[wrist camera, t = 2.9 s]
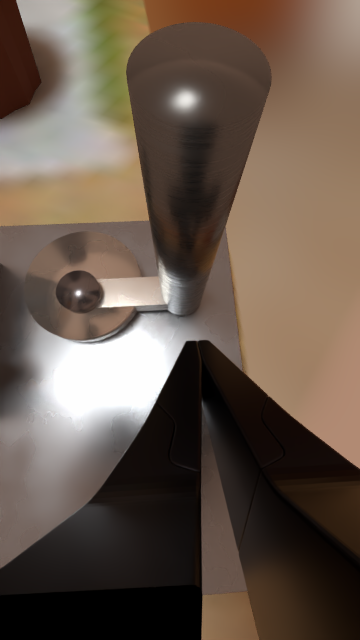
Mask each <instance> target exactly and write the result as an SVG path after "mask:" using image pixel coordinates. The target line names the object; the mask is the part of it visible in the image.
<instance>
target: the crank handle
mask: <svg viewBox="0 0 360 640" xmlns="http://www.w3.org/2000/svg"><path fill="white" fill-rule="evenodd" d="M126 75H127V83H128V89H129V95H130V102H131V108H132V114H133V120H134V127H135V133H136V139H137V145H138V152H139V158H140V164H141V170H142V177H143V183H144V189H145V196H146V202H147V208H148V214H149V221H150V227H151V233H152V239H153V246H154V252H155V258H156V264H157V271H158V276H157V277H142V276H141V272H140V269H139V266H138V264H137V261H136V259H135V257H134V255H133V254H132V252H131V251H130V250H129V249H128V248H127V247H126V246H125V245H124V244H123V243H122V242H120V241H119V240H117V239H116V238H114V237H112V236H109V235H107V234H103V233H99V232H92V231H84V232H76V233H71V234H68V235H65V236H62V237H60V238H58V239H56V240H54V241H53V242H51V243H50V244H48V245H47V246H46V247H44V248H43V249H42V250H41V251H40V252H39V253H38V255H37V256H36V257H35V258H34V260H33V261H32V263H31V265H30V267H29V269H28V271H27V274H26V277H25V283H24V297H25V302H26V305H27V308H28V310H29V312H30V314H31V316H32V317H33V319H34V320H35V321H36V322H37V323H38V324H39V325H40V326H41V327H42V328H44V329H45V330H47V331H48V332H50V333H52V334H54V335H57V336H59V337H62V338H64V339H67V340H71V341H75V342H94V341H99V340H103V339H105V338H108V337H110V336H112V335H114V334H116V333H117V332H119V331H120V330H122V329H123V328H124V327H125V326H126V325H127V324H128V323H129V322H130V321H131V320H132V319H133V317H134V316H135V314H136V313H137V311H155V310H168V311H170V312H171V313H173V314H175V315H182V316H183V315H188V314H191V313H193V312H194V311H195V310H196V309H197V308H198V307H199V305H200V303H201V300H202V297H203V294H204V291H205V287H206V284H207V281H208V278H209V275H210V272H211V269H212V266H213V263H214V260H215V257H216V254H217V250H218V247H219V244H220V241H221V238H222V235H223V232H224V229H225V226H226V223H227V220H228V217H229V213H230V210H231V207H232V204H233V201H234V198H235V195H236V192H237V189H238V186H239V182H240V179H241V176H242V173H243V170H244V167H245V164H246V161H247V158H248V155H249V152H250V149H251V145H252V142H253V139H254V136H255V133H256V130H257V127H258V124H259V121H260V118H261V115H262V112H263V108H264V105H265V102H266V99H267V96H268V93H269V90H270V86H271V69H270V66H269V63H268V61H267V59H266V57H265V55H264V54H263V52H262V51H261V50H260V48H259V47H258V46H257V45H256V44H255V43H253V42H252V41H251V40H250V39H248V38H247V37H245V36H244V35H242V34H240V33H239V32H237V31H234V30H232V29H229V28H226V27H224V26H220V25H216V24H211V23H201V22H199V23H198V22H190V23H181V24H175V25H171V26H167V27H164V28H162V29H159V30H157V31H155V32H153V33H151V34H150V35H148V36H147V37H145V38H144V39H143V40H142V41H141V42H140V43H139V44H138V45H137V46H136V47H135V48H134V50H133V51H132V53H131V55H130V57H129V60H128V63H127V70H126Z"/></svg>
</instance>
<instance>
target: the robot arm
mask: <svg viewBox="0 0 360 640" xmlns="http://www.w3.org/2000/svg"><path fill="white" fill-rule="evenodd" d="M202 405H203V410H204V414H205V418H206V422H207V426H208V430H209V434H210V438H211V443H212V447H213V451H214V455H215V459H216V463H217V467H218V471H219V475H220V480H221V484H222V488H223V492H224V496H225V500H226V504H227V508H228V513H229V517H230V521H231V525H232V529H233V533H234V537H235V541H236V545H237V550H238V551H239V558H240V562H241V566H242V570H243V574H244V579H245V583H246V587H247V591H248V595H249V599H250V603H251V607H252V611H253V616H254V620H255V624H256V628H257V632H258V636H259V640H360V469H359V468H358V467H356V466H355V465H353V464H352V463H351V462H349V461H348V460H347V459H345V458H344V457H343V456H342V455H340V454H339V453H338V452H337V451H335V450H334V449H333V448H331V447H330V446H329V445H327V444H326V443H325V442H324V441H322V440H321V439H320V438H318V437H317V436H316V435H314V434H313V433H312V432H310V431H309V430H308V429H307V428H305V427H304V426H303V425H302V424H300V423H299V422H298V421H297V420H295V419H294V418H293V417H292V416H290V414H288V413H287V412H286V411H285V410H284V409H283V408H281V407H280V406H279V405H278V404H277V403H276V402H275V401H274V400H273V399H272V398H270V397H268V395H267V394H266V393H265V392H264V391H263V390H262V389H261V388H260V387H259V386H258V385H257V384H255V383H254V382H253V381H252V380H251V379H250V378H249V377H248V376H247V375H246V374H245V373H244V372H243V371H242V370H240V369H239V368H238V367H237V366H236V365H235V364H234V363H233V362H232V361H231V360H230V359H229V358H228V357H226V356H225V355H224V354H223V353H222V352H221V351H220V350H219V349H218V348H217V347H216V346H215V345H214V344H213V343H211V342H210V341H209V340H198V342H197V341H195V340H194V341H186V342H185V344H184V346H183V348H182V350H181V352H180V354H179V356H178V358H177V360H176V362H175V364H174V366H173V368H172V370H171V372H170V374H169V376H168V378H167V379H166V381H165V383H164V385H163V387H162V389H161V391H160V393H159V395H158V397H157V399H156V401H155V403H154V405H153V407H152V409H151V411H150V413H149V415H148V417H147V418H146V420H145V422H144V424H143V426H142V427H141V429H140V430H139V432H138V434H137V435H136V437H135V438H134V440H133V441H132V443H131V444H130V446H129V447H128V449H127V450H126V451H125V453H124V454H123V456H122V457H121V459H120V460H119V462H118V463H117V465H116V466H115V467H114V469H113V470H112V472H111V473H110V475H109V476H108V478H107V479H106V481H105V482H104V483H103V485H102V486H101V487H100V489H99V490H98V491H97V492H96V494H95V495H94V496H93V497H92V498H91V499H90V500H89V501H88V502H87V503H86V504H85V505H84V506H82V507H81V508H80V509H79V510H77V511H76V512H75V513H73V514H72V515H71V516H69V517H68V518H67V519H65V520H64V521H63V522H61V523H60V524H59V525H57V526H56V527H55V528H54V529H52V530H51V531H50V532H48V533H47V534H46V535H44V536H43V537H42V538H40V539H39V540H38V541H36V542H35V543H34V544H32V545H31V546H30V547H29V548H27V549H26V550H25V551H23V552H22V553H21V554H19V555H18V556H17V557H15V558H14V559H13V560H11V561H10V562H9V563H7V564H6V565H5V566H3V567H2V568H0V640H201V628H202V528H201V451H202Z"/></svg>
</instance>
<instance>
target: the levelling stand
mask: <svg viewBox="0 0 360 640" xmlns="http://www.w3.org/2000/svg"><path fill="white" fill-rule="evenodd" d="M84 231H92V232H99V233H103V234H107V235H109V236H112V237H114V238H116V239H117V240H119V241H120V242H122V243H123V244H124V245H125V246H126V247H127V248H128V249H129V250H130V251H131V252H132V254H133V255H134V257H135V259H136V261H137V264H138V266H139V269H140V272H141V276H142V277H157V276H158V271H157V264H156V258H155V252H154V246H153V239H152V233H151V227H150V221H130V222H104V223H78V224H52V225H27V226H1V227H0V568H2V567H3V566H5V565H6V564H7V563H9V562H10V561H11V560H13V559H14V558H15V557H17V556H18V555H19V554H21V553H22V552H23V551H25V550H26V549H27V548H29V547H30V546H31V545H32V544H34V543H35V542H36V541H38V540H39V539H40V538H42V537H43V536H44V535H46V534H47V533H48V532H50V531H51V530H52V529H54V528H55V527H56V526H57V525H59V524H60V523H61V522H63V521H64V520H65V519H67V518H68V517H69V516H71V515H72V514H73V513H75V512H76V511H77V510H79V509H80V508H81V507H82V506H84V505H85V504H86V503H87V502H88V501H89V500H90V499H91V498H92V497H93V496H94V495H95V494H96V492H97V491H98V490H99V489H100V487H101V486H102V485H103V483H104V482H105V481H106V479H107V478H108V476H109V475H110V473H111V472H112V470H113V469H114V467H115V466H116V465H117V463H118V462H119V460H120V459H121V457H122V456H123V454H124V453H125V451H126V450H127V449H128V447H129V446H130V444H131V443H132V441H133V440H134V438H135V437H136V435H137V434H138V432H139V430H140V429H141V427H142V426H143V424H144V422H145V420H146V418H147V417H148V415H149V413H150V411H151V409H152V407H153V405H154V403H155V401H156V399H157V397H158V395H159V393H160V391H161V389H162V387H163V385H164V383H165V381H166V379H167V378H168V376H169V374H170V372H171V370H172V368H173V366H174V364H175V362H176V360H177V358H178V356H179V354H180V352H181V350H182V348H183V346H184V344H185V342H186V341H194V340H195V341H197V342H198V340H209V341H210V342H211V343H213V344H214V345H215V346H216V347H217V348H218V349H219V350H220V351H221V352H222V353H223V354H224V355H225V356H226V357H228V358H229V359H230V360H231V361H232V362H233V363H234V364H235V365H236V366H237V367H238V368H239V369H240V370H242V362H241V354H240V345H239V337H238V328H237V320H236V312H235V303H234V295H233V286H232V278H231V269H230V261H229V252H228V244H227V235H226V227H225V229H224V232H223V235H222V238H221V241H220V244H219V247H218V250H217V254H216V257H215V260H214V263H213V266H212V269H211V272H210V275H209V278H208V281H207V284H206V287H205V291H204V294H203V297H202V300H201V303H200V305H199V307H198V308H197V309H196V310H195V311H194V312H193V313H191V314H188V315H183V316H182V315H175V314H173V313H171V312H170V311H168V310H155V311H137V313H136V314H135V316H134V317H133V319H132V320H131V321H130V322H129V323H128V324H127V325H126V326H125V327H124V328H123V329H122V330H120V331H119V332H117V333H116V334H114V335H112V336H110V337H108V338H105V339H103V340H99V341H94V342H75V341H71V340H67V339H64V338H62V337H59V336H57V335H54V334H52V333H50V332H48V331H47V330H45V329H44V328H42V327H41V326H40V325H39V324H38V323H37V322H36V321H35V320H34V319H33V317H32V316H31V314H30V312H29V310H28V308H27V305H26V302H25V297H24V283H25V277H26V274H27V271H28V269H29V267H30V265H31V263H32V261H33V260H34V258H35V257H36V256H37V255H38V253H39V252H40V251H41V250H42V249H43V248H44V247H46V246H47V245H48V244H50V243H51V242H53V241H54V240H56V239H58V238H60V237H62V236H65V235H68V234H71V233H76V232H84ZM201 528H202V595H210V594H221V593H232V592H243V591H247V587H246V583H245V579H244V574H243V570H242V566H241V562H240V558H239V551H238V550H237V545H236V541H235V537H234V533H233V529H232V525H231V521H230V517H229V513H228V508H227V504H226V500H225V496H224V492H223V488H222V484H221V480H220V475H219V471H218V467H217V463H216V459H215V455H214V451H213V447H212V443H211V438H210V434H209V430H208V426H207V422H206V418H205V414H204V410H203V405H202V451H201Z"/></svg>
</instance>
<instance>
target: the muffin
mask: <svg viewBox="0 0 360 640" xmlns="http://www.w3.org/2000/svg"><path fill="white" fill-rule="evenodd" d="M40 83H41V79H40V76H39V73H38V70H37V67H36V63H35V60H34V57H33V54H32V50H31V47H30V44H29V41H28V38H27V34H26V31H25V28H24V25H23V22H22V18H21V15H20V12H19V9H18V6H17V2H16V0H0V119H2V118H4V117H5V116H7V115H8V114H10V113H12V112H13V111H15V110H17V109H19V108H22V107H24V106H26V105H28V104H30V101H31V99H32V97H33V94H34V92H35V91H36V89H37V88H38V86H39V85H40Z"/></svg>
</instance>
